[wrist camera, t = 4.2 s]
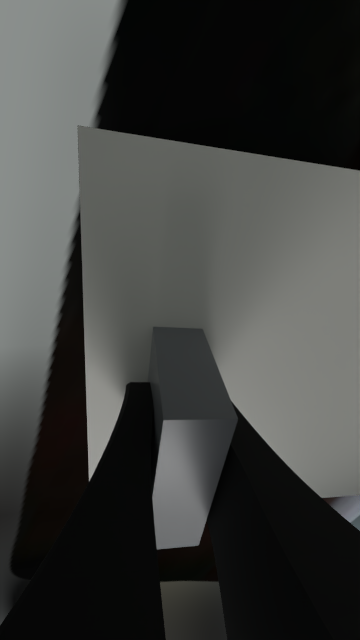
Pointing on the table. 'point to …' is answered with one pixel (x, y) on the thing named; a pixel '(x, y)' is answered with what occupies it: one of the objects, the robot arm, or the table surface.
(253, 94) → the table surface
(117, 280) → the carton lid
